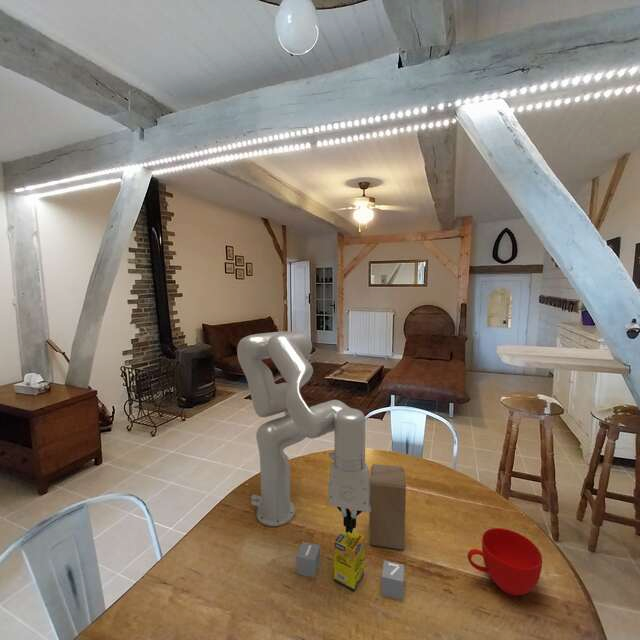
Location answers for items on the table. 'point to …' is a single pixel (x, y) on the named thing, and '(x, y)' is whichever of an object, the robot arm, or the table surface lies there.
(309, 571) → the slate block
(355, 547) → the supplement box
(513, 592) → the ceramic cup
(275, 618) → the table surface
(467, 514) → the table surface
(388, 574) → the slate block
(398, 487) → the block
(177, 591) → the table surface
